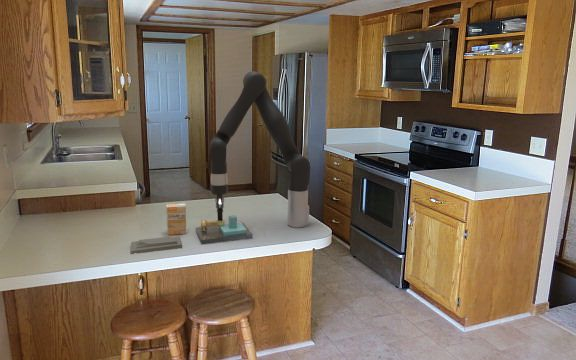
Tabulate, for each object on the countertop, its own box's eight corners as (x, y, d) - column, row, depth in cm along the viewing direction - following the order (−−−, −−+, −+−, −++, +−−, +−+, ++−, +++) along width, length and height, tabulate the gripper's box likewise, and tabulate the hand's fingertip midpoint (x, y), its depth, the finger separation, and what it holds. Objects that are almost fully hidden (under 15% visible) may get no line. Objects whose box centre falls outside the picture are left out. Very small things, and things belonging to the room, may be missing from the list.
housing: (243, 226, 217) (243, 222, 217) (252, 238, 203) (252, 234, 202) (195, 231, 210) (195, 227, 210) (201, 244, 195) (201, 239, 195)
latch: (201, 231, 204) (201, 221, 203) (200, 229, 207) (200, 220, 206) (224, 228, 208) (224, 219, 207) (223, 226, 210) (223, 217, 209)
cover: (241, 225, 212) (240, 212, 211) (246, 233, 203) (246, 218, 202) (219, 228, 209) (219, 214, 208) (224, 235, 200) (223, 221, 198)
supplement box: (167, 235, 205) (166, 207, 202) (167, 232, 209) (165, 203, 206) (186, 234, 207) (185, 205, 204) (186, 230, 212) (185, 202, 208)
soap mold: (130, 246, 194) (130, 238, 193) (179, 240, 201) (179, 233, 200) (131, 255, 185) (130, 247, 184) (182, 249, 191) (182, 241, 190)
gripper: (228, 186, 202) (229, 224, 206) (227, 178, 215) (227, 215, 219) (210, 186, 201) (211, 225, 205) (210, 179, 213) (211, 215, 217)
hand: (220, 219), depth 212 cm, fingers closed
